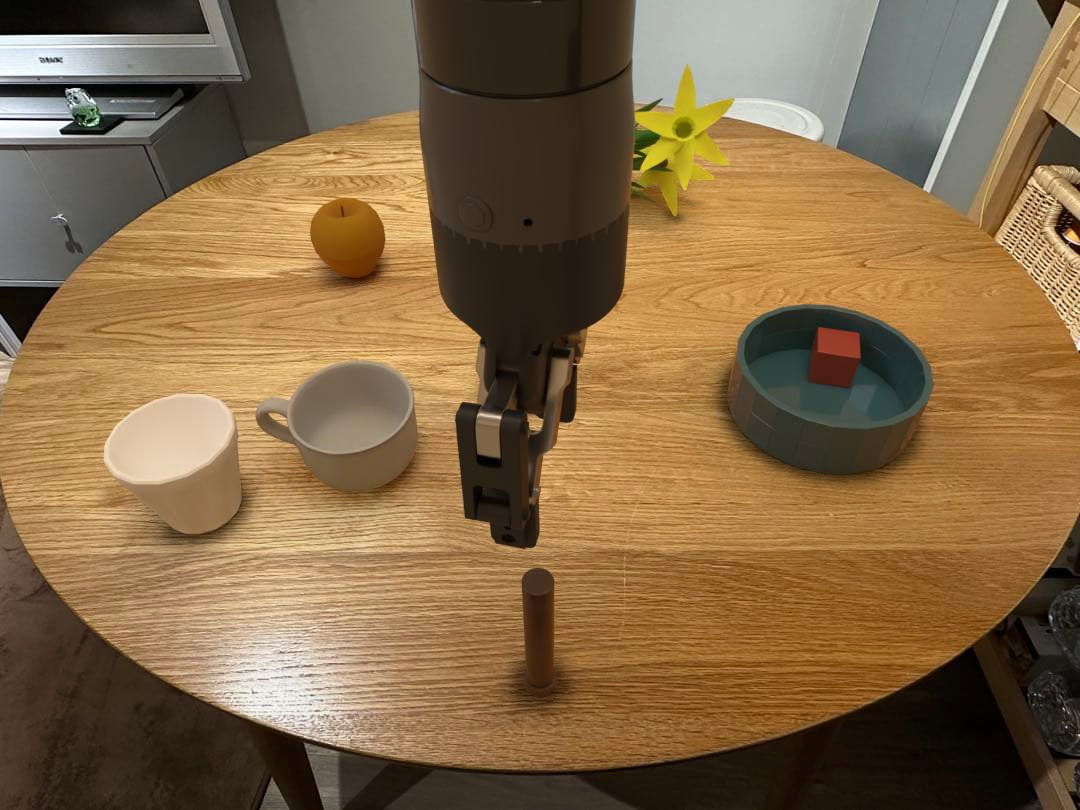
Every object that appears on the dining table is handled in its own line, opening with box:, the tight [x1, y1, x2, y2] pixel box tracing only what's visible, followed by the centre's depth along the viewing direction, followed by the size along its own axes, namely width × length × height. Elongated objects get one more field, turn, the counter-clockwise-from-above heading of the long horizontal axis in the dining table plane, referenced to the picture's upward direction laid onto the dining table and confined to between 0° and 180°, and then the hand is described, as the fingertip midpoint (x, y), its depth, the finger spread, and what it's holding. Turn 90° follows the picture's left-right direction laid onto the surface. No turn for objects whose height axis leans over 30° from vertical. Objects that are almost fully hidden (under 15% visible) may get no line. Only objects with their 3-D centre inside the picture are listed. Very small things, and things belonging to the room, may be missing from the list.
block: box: [808, 327, 861, 388], centre depth 77 cm, size 4×4×4 cm
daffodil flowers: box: [631, 64, 736, 217], centre depth 99 cm, size 17×15×35 cm
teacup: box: [255, 359, 419, 493], centre depth 68 cm, size 14×11×8 cm
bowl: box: [726, 303, 935, 475], centre depth 73 cm, size 17×18×6 cm
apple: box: [309, 197, 386, 279], centre depth 90 cm, size 8×8×9 cm
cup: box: [103, 393, 243, 536], centre depth 64 cm, size 10×10×9 cm
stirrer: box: [521, 567, 558, 698], centre depth 51 cm, size 2×2×13 cm
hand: (537, 473), depth 40 cm, fingers open, 8 cm apart
